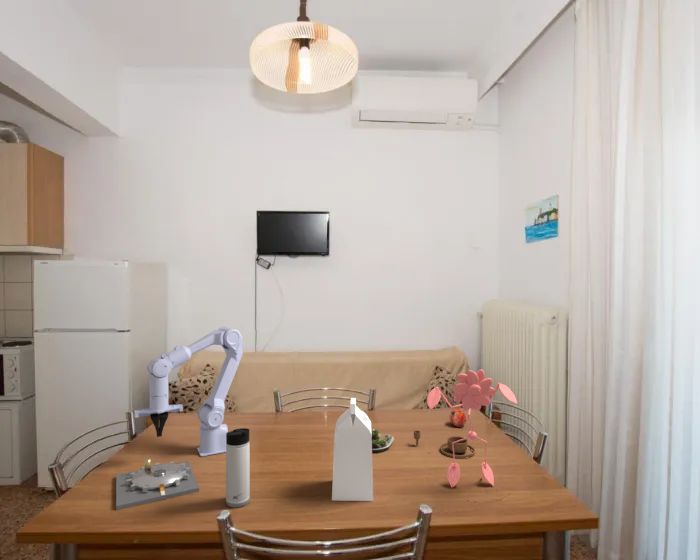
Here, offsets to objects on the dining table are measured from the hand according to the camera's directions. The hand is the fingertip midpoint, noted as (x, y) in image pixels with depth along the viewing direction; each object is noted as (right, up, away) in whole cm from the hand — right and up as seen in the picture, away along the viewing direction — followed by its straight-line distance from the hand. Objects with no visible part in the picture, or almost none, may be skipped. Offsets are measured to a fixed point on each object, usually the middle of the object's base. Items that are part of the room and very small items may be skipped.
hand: (159, 435), depth 143 cm
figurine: (+99, -10, -17) cm, 101 cm away
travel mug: (+33, -10, -24) cm, 42 cm away
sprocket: (+6, -8, -13) cm, 16 cm away
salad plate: (+70, -10, +17) cm, 73 cm away
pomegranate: (+108, -10, +37) cm, 115 cm away
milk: (+64, -10, -18) cm, 67 cm away
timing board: (+5, -9, -14) cm, 18 cm away
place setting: (+98, -10, +13) cm, 100 cm away
